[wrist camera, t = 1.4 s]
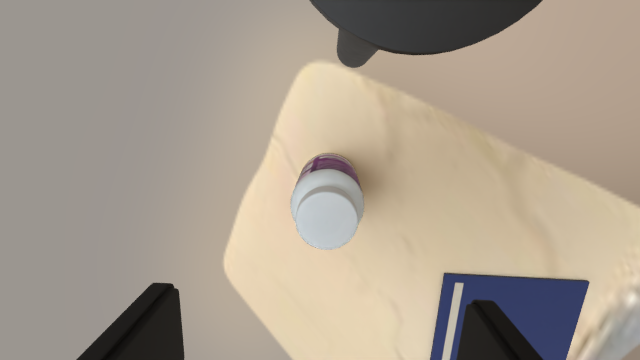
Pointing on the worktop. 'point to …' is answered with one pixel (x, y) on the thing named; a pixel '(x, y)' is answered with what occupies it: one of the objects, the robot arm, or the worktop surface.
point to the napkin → (512, 310)
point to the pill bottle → (327, 202)
